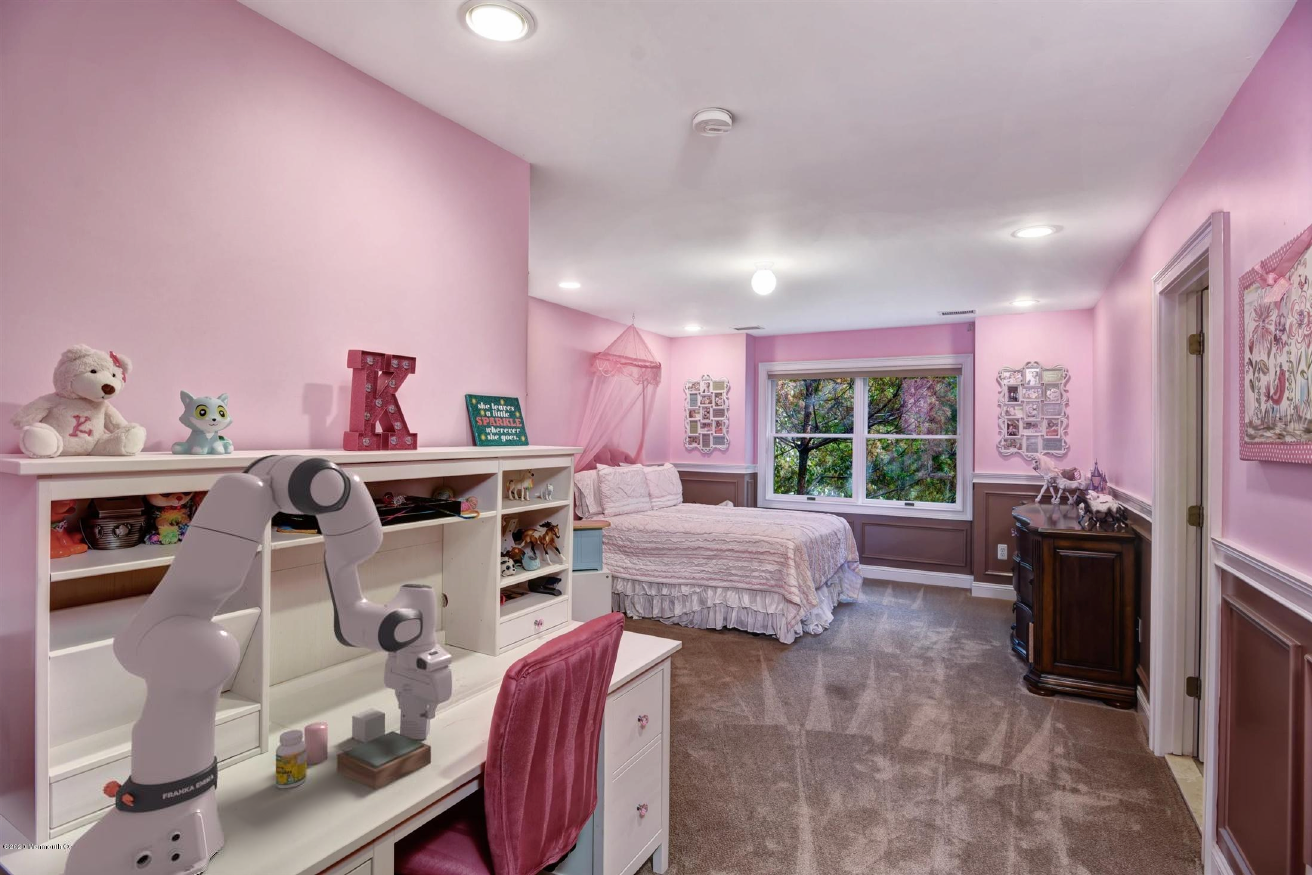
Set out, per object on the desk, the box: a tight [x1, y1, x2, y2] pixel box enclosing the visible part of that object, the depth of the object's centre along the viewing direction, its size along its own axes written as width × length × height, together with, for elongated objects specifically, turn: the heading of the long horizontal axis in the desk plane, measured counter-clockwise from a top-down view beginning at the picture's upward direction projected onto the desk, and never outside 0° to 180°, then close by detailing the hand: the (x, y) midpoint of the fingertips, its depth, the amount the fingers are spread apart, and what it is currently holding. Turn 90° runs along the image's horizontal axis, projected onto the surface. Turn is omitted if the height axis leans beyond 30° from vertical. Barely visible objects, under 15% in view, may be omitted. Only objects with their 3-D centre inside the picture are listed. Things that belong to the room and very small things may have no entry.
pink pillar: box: [303, 721, 329, 765], centre depth 140 cm, size 4×4×7 cm
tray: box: [336, 730, 432, 791], centre depth 137 cm, size 13×13×4 cm
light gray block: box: [351, 708, 386, 743], centre depth 151 cm, size 5×5×5 cm
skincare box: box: [399, 684, 431, 740], centre depth 152 cm, size 6×4×12 cm
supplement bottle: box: [275, 729, 308, 789], centre depth 131 cm, size 5×5×10 cm
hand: (416, 713), depth 152 cm, fingers open, 8 cm apart
